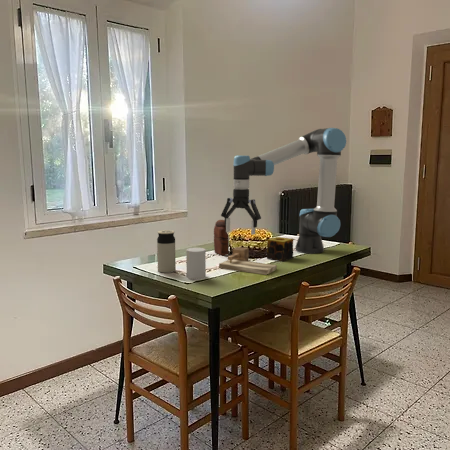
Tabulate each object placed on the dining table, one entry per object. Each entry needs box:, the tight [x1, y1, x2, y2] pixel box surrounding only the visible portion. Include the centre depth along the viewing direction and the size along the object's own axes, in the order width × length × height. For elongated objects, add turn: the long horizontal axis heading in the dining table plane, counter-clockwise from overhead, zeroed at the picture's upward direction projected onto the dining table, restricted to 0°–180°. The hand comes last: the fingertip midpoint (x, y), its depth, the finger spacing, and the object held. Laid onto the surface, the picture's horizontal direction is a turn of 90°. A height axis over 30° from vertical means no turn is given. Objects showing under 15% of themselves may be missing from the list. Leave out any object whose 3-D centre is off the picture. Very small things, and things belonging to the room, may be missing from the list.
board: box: [218, 259, 278, 276], centre depth 209 cm, size 11×24×2 cm, turn 61°
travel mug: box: [156, 229, 177, 274], centre depth 204 cm, size 8×8×18 cm
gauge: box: [227, 246, 250, 263], centre depth 216 cm, size 14×6×7 cm, turn 151°
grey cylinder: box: [185, 247, 207, 281], centre depth 194 cm, size 8×8×12 cm
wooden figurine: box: [213, 219, 230, 257], centre depth 239 cm, size 12×6×18 cm, turn 25°
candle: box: [266, 236, 294, 262], centre depth 229 cm, size 10×10×10 cm
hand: (240, 232), depth 218 cm, fingers open, 13 cm apart
